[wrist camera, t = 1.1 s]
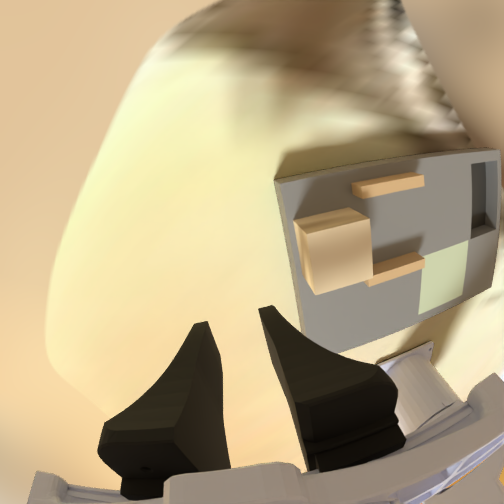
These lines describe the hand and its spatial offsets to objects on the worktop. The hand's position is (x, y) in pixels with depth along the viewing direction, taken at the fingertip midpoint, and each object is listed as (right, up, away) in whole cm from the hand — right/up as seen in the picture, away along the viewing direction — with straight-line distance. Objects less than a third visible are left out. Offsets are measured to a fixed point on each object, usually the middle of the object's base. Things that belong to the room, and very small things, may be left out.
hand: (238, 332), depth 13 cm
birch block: (+6, +4, +7) cm, 10 cm away
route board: (+14, +4, +10) cm, 18 cm away
